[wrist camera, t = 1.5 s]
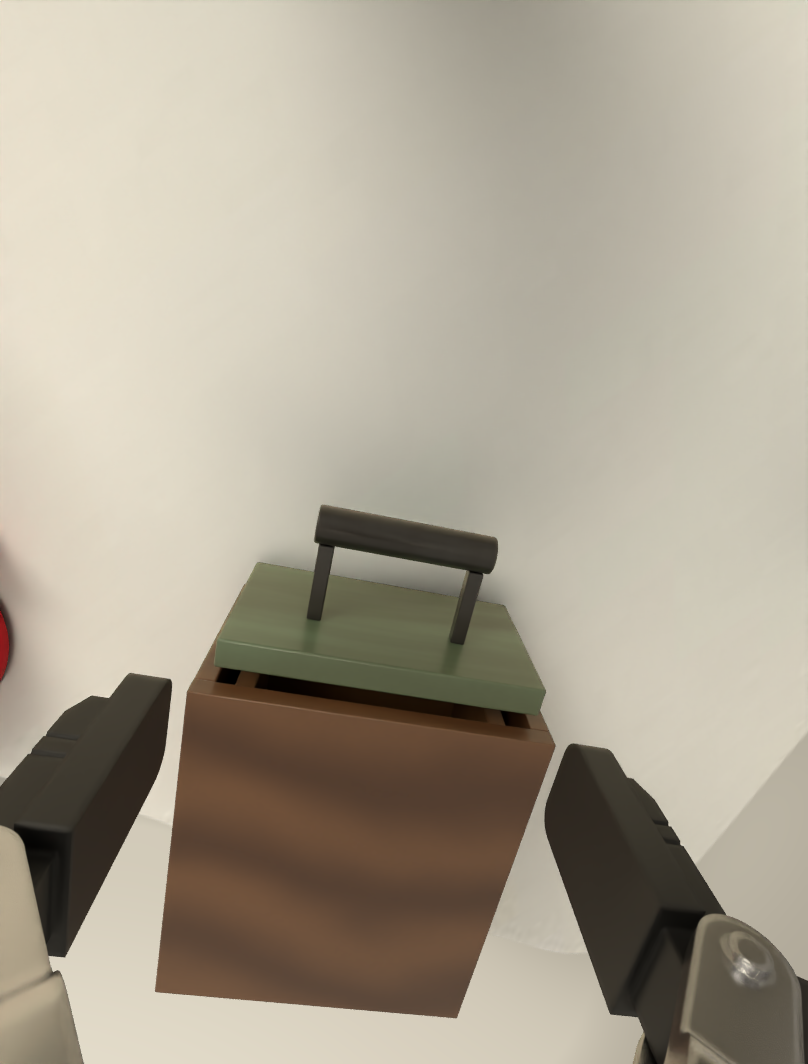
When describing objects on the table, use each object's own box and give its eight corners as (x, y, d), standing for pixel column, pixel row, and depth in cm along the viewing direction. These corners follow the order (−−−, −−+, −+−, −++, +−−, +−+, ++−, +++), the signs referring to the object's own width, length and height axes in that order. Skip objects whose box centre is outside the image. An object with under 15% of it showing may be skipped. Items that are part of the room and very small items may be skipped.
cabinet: (244, 583, 28) (186, 691, 19) (503, 627, 30) (556, 745, 21) (212, 821, 33) (154, 992, 24) (436, 849, 34) (457, 1018, 26)
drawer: (270, 465, 25) (231, 512, 18) (531, 516, 27) (586, 578, 20) (223, 797, 31) (181, 927, 24) (439, 825, 33) (456, 955, 26)
